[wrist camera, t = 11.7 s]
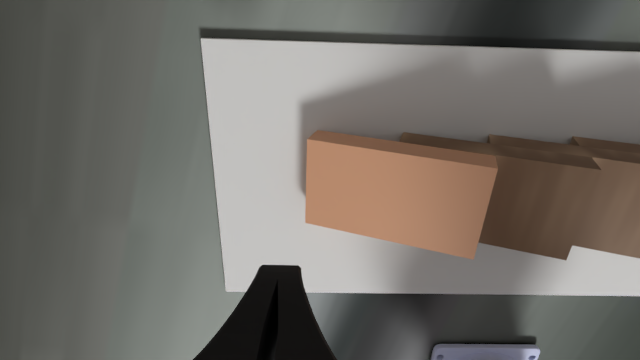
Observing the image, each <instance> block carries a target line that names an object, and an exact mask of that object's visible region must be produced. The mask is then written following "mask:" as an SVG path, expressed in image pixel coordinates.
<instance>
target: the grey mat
mask: <svg viewBox="0 0 640 360" xmlns="http://www.w3.org/2000/svg"><path fill="white" fill-rule="evenodd" d="M201 47H202V57H203V67H204V77H205V87H206V97H207V107H208V117H209V127H210V137H211V147H212V157H213V167H214V177H215V187H216V197H217V207H218V217H219V227H220V237H221V246H222V256H223V266H224V276H225V286H226V292H246V291H247V290H248V288H249V286H250V285H251V283H252V281H253V279H254V277H255V275H256V273H257V271H258V269H259V267H260V266H262V265H298V266H299V267H300V268H301V274H302V280H303V285H304V288H305V292H312V293H404V294H495V295H587V296H640V259H639V258H634V257H629V256H624V255H619V254H614V253H609V252H603V251H598V250H593V249H588V248H583V247H578V246H572V247H571V250H570V252H569V255H568V257H567V260H562V259H557V258H552V257H547V256H542V255H537V254H532V253H527V252H522V251H517V250H512V249H507V248H502V247H497V246H492V245H488V244H483V243H478V245H477V249H476V253H475V257H474V260H473V259H468V258H463V257H459V256H454V255H450V254H445V253H441V252H436V251H431V250H427V249H422V248H418V247H413V246H409V245H404V244H399V243H395V242H390V241H386V240H381V239H377V238H372V237H367V236H363V235H358V234H354V233H349V232H345V231H340V230H335V229H331V228H326V227H322V226H317V225H313V224H308V223H305V208H306V165H307V139H308V138H309V137H310V136H311V135H312V134H313V133H315V132H316V131H317V130H321V131H328V132H335V133H342V134H349V135H356V136H363V137H369V138H376V139H383V140H390V141H397V142H399V140H400V138H401V136H402V134H403V132H406V133H414V134H421V135H429V136H436V137H444V138H451V139H459V140H466V141H474V142H481V143H487V140H488V136H489V134H492V135H499V136H507V137H515V138H523V139H531V140H538V141H546V142H554V143H562V144H569V145H570V142H571V139H572V136H575V137H583V138H591V139H599V140H607V141H615V142H623V143H631V144H639V145H640V51H608V50H577V49H545V48H513V47H482V46H450V45H418V44H387V43H355V42H323V41H291V40H260V39H228V38H201Z"/></svg>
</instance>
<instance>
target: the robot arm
mask: <svg viewBox="0 0 640 360" xmlns="http://www.w3.org/2000/svg"><path fill="white" fill-rule="evenodd" d="M539 354H540V349H539V348H538V346H537V345H533V344H438V345H436V346H435V347H434V348H433V352H432V357H431V360H537V359H538V356H539ZM193 360H337V359H336V358H335V356H334V354H333V353H332V351H331V349H330V347H329V346H328V344H327V342H326V340H325V338H324V336H323V334H322V332H321V330H320V328H319V326H318V323H317V321H316V319H315V317H314V314H313V312H312V309H311V306H310V304H309V301H308V298H307V295H306V292H305V288H304V285H303V280H302V274H301V268H300V267H299V266H298V265H262V266H260V267H259V269H258V271H257V273H256V275H255V277H254V279H253V281H252V283H251V285H250V286H249V288H248V290H247V291H246V293H245V295H244V296H243V298H242V299H241V301H240V302H239V304H238V305H237V307H236V308H235V310H234V311H233V313H232V314H231V315H230V317H229V318H228V319H227V321H226V322H225V323H224V325H223V326H222V327H221V329H220V330H219V331H218V332H217V334H216V335H215V336H214V337H213V338H212V340H211V341H210V342H209V343H208V344H207V345H206V346H205V348H204V349H203V350H202V351H201V352H200V353H199V354H198V355H197V356H196V357H195V358H194V359H193Z"/></svg>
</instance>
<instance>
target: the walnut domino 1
mask: <svg viewBox="0 0 640 360" xmlns="http://www.w3.org/2000/svg"><path fill="white" fill-rule="evenodd" d="M399 142H404V143H411V144H417V145H424V146H431V147H438V148H445V149H452V150H459V151H465V152H472V153H479V154H486V155H493V156H496V161H497V166H498V171H497V174H496V178H495V182H494V186H493V189H492V193H491V197H490V200H489V204H488V208H487V212H486V215H485V219H484V223H483V227H482V230H481V234H480V238H479V242H478V243H483V244H488V245H492V246H497V247H502V248H507V249H512V250H517V251H522V252H527V253H532V254H537V255H542V256H547V257H552V258H557V259H562V260H567V257H568V255H569V252H570V250H571V247H572V245H573V242H574V240H575V237H576V235H577V232H578V229H579V227H580V224H581V222H582V219H583V217H584V214H585V212H586V209H587V207H588V204H589V202H590V199H591V197H592V194H593V191H594V189H595V186H596V184H597V181H598V179H599V176H600V174H601V171H602V170H601V168H600V167H599V166H598V165H597V163H596V162H595V161H594V160H593V158H592V157H586V156H578V155H571V154H563V153H556V152H548V151H541V150H533V149H526V148H518V147H511V146H504V145H496V144H489V143H481V142H474V141H466V140H459V139H451V138H444V137H436V136H429V135H421V134H414V133H406V132H403V134H402V136H401V138H400V140H399Z"/></svg>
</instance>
